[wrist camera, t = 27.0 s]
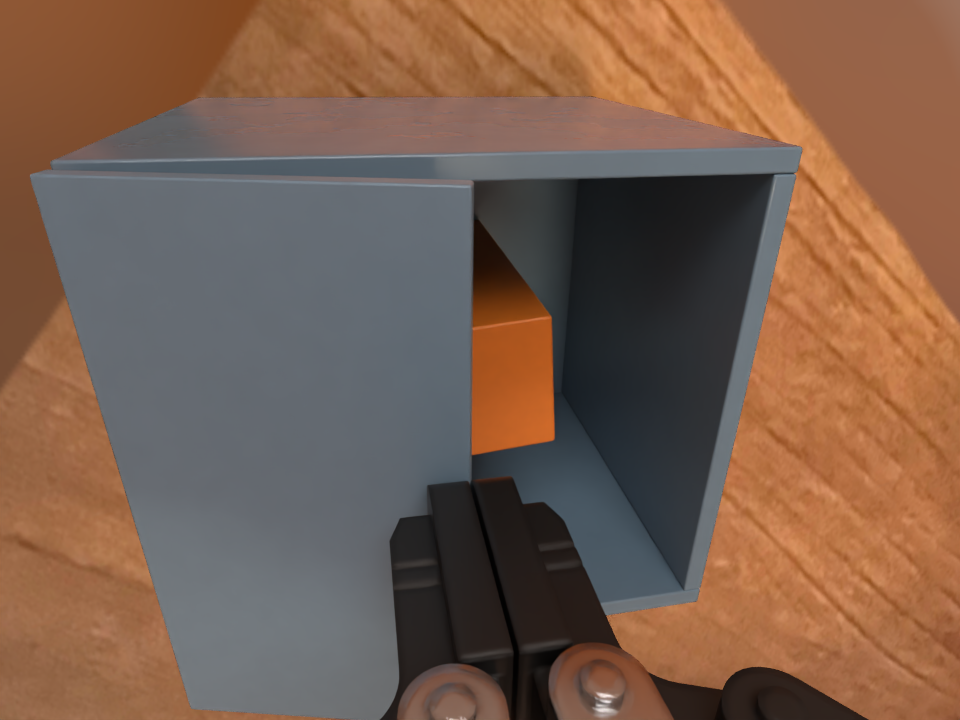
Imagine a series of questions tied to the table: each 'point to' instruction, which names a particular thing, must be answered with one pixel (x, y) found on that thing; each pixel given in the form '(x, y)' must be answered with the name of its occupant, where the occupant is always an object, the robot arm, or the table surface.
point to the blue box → (566, 283)
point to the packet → (508, 355)
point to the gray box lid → (274, 407)
